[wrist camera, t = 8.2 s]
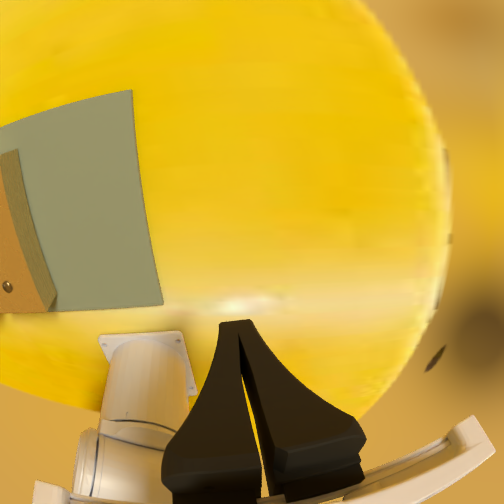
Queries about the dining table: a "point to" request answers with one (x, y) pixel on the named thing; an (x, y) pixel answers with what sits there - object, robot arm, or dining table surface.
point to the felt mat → (88, 202)
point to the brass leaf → (20, 247)
